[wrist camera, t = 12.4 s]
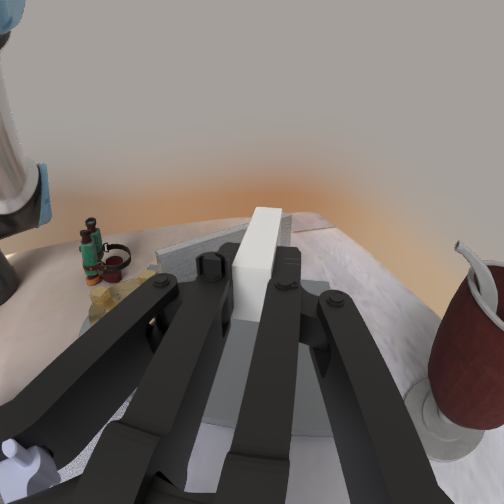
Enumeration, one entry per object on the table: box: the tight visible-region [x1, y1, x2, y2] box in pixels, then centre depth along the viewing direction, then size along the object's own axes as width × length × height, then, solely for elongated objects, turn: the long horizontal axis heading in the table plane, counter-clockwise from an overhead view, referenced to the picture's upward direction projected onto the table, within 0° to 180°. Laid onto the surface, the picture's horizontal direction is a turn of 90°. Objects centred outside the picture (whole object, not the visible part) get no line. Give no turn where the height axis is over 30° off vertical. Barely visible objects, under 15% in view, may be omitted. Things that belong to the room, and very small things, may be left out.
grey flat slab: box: [79, 265, 334, 437], centre depth 35 cm, size 31×26×4 cm
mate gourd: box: [404, 241, 504, 462], centre depth 18 cm, size 16×14×20 cm
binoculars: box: [79, 218, 131, 285], centre depth 47 cm, size 9×10×10 cm
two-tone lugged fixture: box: [89, 213, 292, 326], centre depth 34 cm, size 28×11×8 cm, turn 127°
